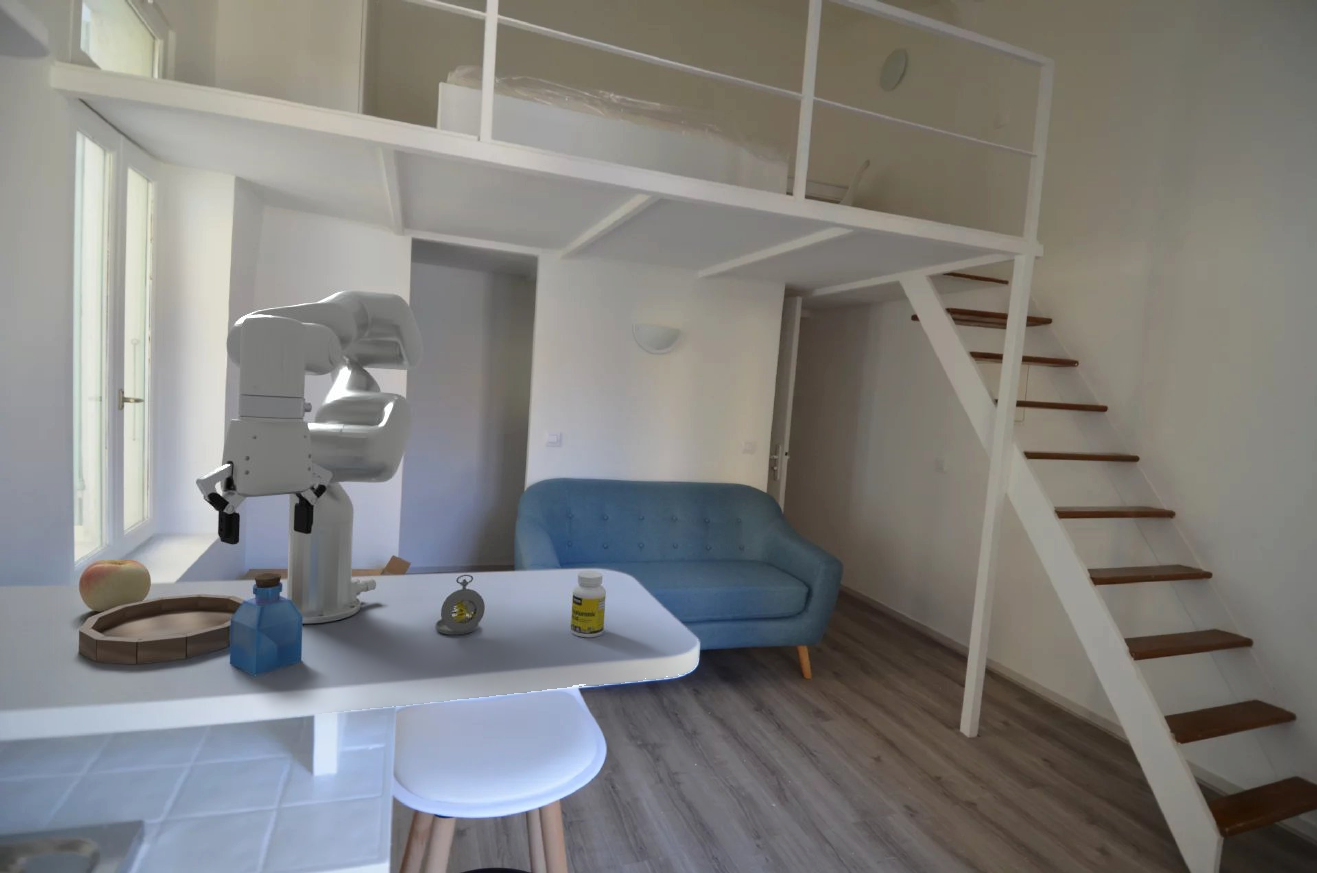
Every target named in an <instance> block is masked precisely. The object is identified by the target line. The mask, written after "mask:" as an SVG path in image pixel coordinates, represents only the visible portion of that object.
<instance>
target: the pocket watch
mask: <svg viewBox="0 0 1317 873" xmlns="http://www.w3.org/2000/svg"><path fill="white" fill-rule="evenodd" d="M462 577H463V579H462V581H461V582H460V581H459V579H461V578H462ZM464 577H470V580H469V581H467V579H466V578H464ZM473 580H474V577H473V576H472V575H471V574H462V575H460V576H458V577H457V578H456V581H455V582H456V583H457V584H460V586H461V587H462V589H457V590H455V591H453V592H452V593H450V594H449V595H448V596H447V597H446V598H445V600H444V601H443V603H442V606H441V609H440V610H441V611H440V612H441V613H440V617H441V619H439V620H438V621H436V622H435V623H434V624H435V626H434V627H435V628H434V629H435V630H436V631H437V632H439V633H442V634H446V635H464V634H468V633H471V632H474V631H475V630H476V629H477V628H478V627H479V624H480V622H481V621H482V619H483V618H484V615H485V614H484V613H485V609H486V607H485V601H484V599H483V597H482V596H481V594H480V593H479V592H478V591H476V590H474V589H470V588H467V586H468V585H469V584H470V583H472V581H473ZM453 614H454V616H453Z"/></svg>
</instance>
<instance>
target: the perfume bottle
mask: <svg viewBox="0 0 1317 873" xmlns="http://www.w3.org/2000/svg"><path fill="white" fill-rule="evenodd" d="M281 578H282V574H281V573H278V572H265V573H258V574H257V575H255V576H254V581H255V584H253V586H252V594H253V595H254V598H249V599H243V600H244V601H243V603H242V604H241V606H240V607H239V608H238V610H237V611H236V612H235V614H234V615H233V616H232V618H231V631H230V646H229V664H230V665H232V666H234V667H236V668H238V669H240V670H242V671H244V672H246V671H247V672H246V673H248V674H250V673H251V675H253V676H254V675H256V676H258V675H263V674H265V673H269V672H271V671H275V670H277V669H280V668H281V669H282V668H284V667H287V666H290V665H292V664H293V665H294V664H297V663H299V662H302V657H303V655H302V654H303V653H302V651H303V649H302V648H303V624H302V620H303V617H302V616H301V614H300V613H299V611H298V610H297V608H296V607H295V605H294V604H293V603H292V601H291V600H290V599H287V597H285V596H281V593H282V592H283V583H282V581H281ZM268 671H269V672H268Z"/></svg>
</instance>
